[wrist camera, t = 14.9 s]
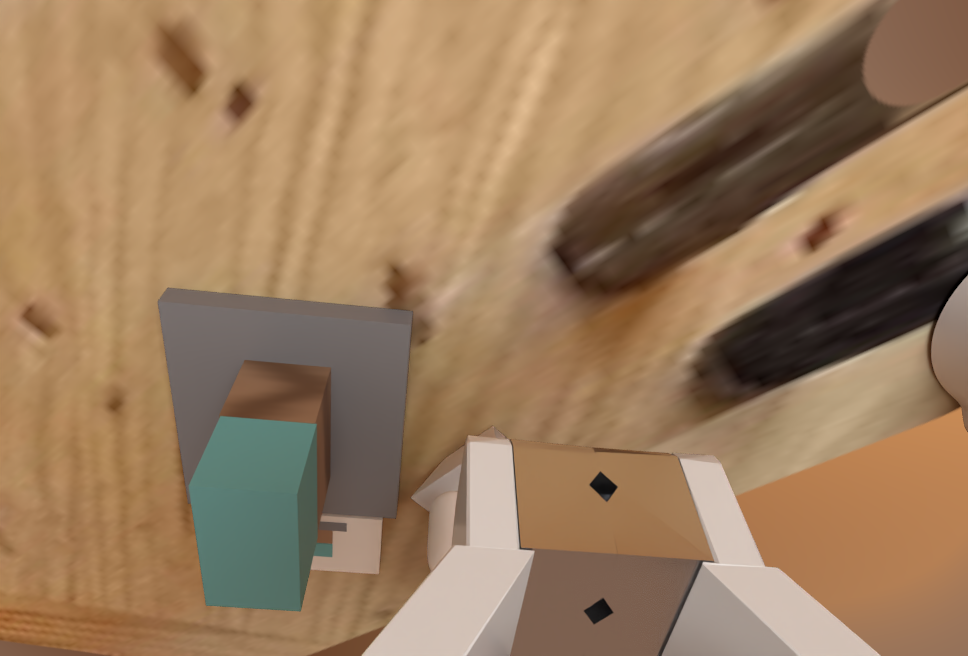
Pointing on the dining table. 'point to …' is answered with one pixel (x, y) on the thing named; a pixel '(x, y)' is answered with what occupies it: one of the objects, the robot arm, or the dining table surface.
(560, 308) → the dining table surface
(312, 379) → the walnut block
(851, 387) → the dining table surface
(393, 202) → the dining table surface
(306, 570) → the teal block
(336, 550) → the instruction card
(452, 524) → the figurine
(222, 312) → the baseplate
